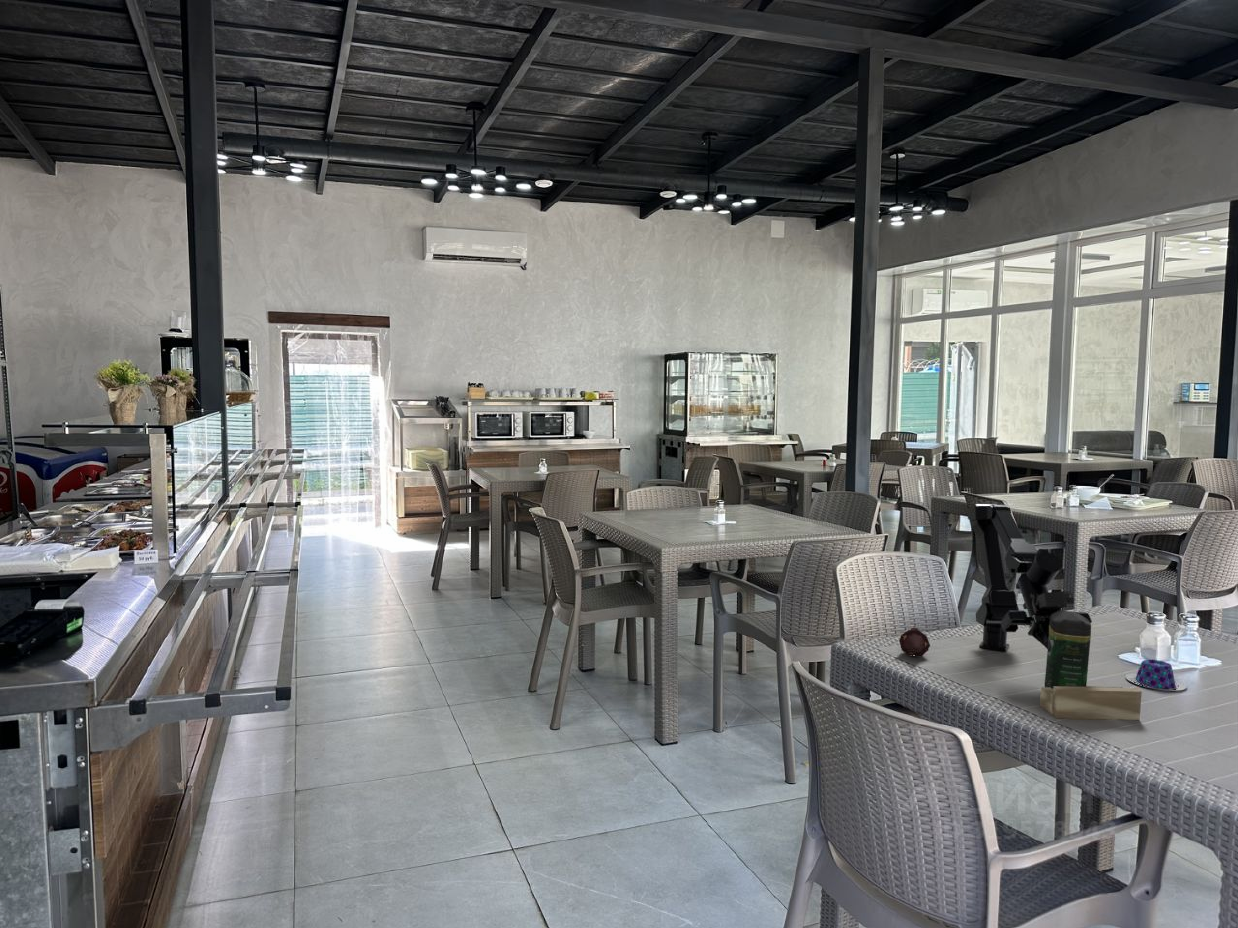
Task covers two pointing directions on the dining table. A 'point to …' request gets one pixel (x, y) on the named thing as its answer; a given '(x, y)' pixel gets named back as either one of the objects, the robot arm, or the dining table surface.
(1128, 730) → the dining table surface
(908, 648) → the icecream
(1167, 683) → the purple patterned hat
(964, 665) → the dining table surface
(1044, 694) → the block
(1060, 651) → the coffee jar
